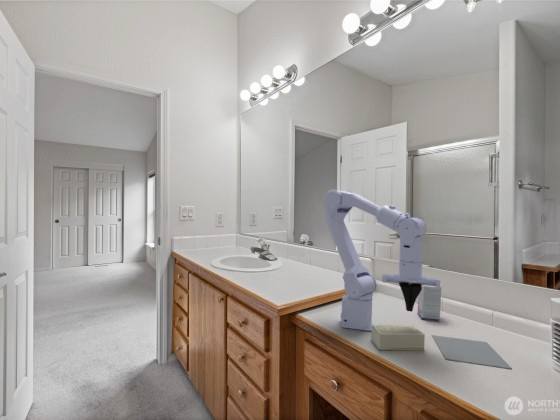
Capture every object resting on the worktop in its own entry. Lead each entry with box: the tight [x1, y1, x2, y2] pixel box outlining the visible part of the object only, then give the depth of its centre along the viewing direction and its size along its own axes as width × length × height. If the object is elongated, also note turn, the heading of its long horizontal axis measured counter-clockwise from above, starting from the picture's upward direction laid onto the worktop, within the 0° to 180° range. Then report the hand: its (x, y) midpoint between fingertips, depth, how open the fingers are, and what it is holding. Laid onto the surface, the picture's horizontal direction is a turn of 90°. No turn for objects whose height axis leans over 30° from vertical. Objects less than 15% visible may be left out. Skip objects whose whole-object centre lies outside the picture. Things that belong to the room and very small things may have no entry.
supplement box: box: [417, 285, 442, 322], centre depth 100 cm, size 6×6×12 cm
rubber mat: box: [431, 334, 513, 370], centre depth 77 cm, size 14×14×1 cm
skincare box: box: [370, 324, 426, 351], centre depth 79 cm, size 6×4×12 cm
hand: (409, 310), depth 80 cm, fingers closed
